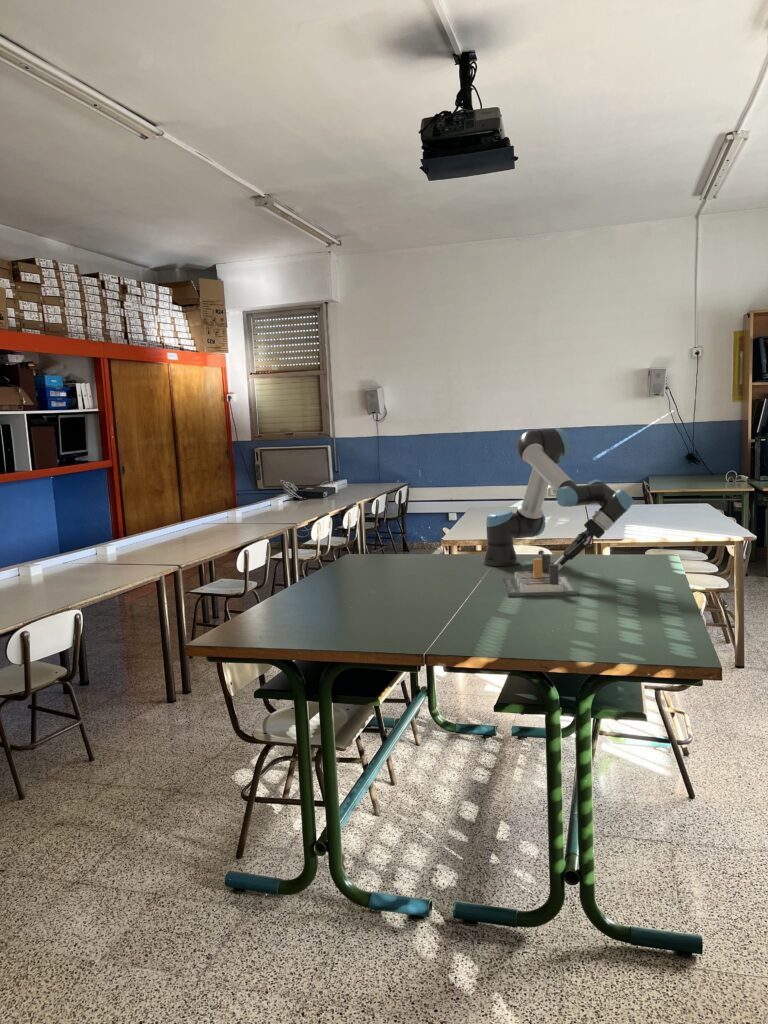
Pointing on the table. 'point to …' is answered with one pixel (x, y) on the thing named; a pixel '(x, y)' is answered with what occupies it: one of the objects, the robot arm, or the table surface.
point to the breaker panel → (539, 582)
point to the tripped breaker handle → (537, 568)
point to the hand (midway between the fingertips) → (553, 569)
